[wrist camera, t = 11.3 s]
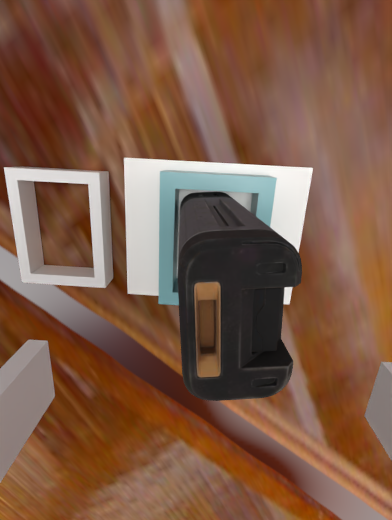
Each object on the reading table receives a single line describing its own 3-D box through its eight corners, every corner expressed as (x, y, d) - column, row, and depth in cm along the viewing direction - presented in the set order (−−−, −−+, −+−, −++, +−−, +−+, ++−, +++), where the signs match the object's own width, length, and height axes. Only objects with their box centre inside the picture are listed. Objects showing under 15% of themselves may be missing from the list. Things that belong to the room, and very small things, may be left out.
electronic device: (232, 270, 35) (292, 402, 16) (182, 273, 35) (183, 408, 16) (233, 190, 32) (308, 237, 13) (178, 192, 32) (175, 242, 13)
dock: (129, 290, 38) (118, 309, 33) (126, 157, 32) (112, 157, 28) (287, 300, 37) (298, 321, 32) (309, 167, 32) (327, 169, 27)
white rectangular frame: (36, 273, 37) (21, 282, 35) (21, 166, 33) (3, 167, 30) (113, 278, 37) (105, 287, 34) (108, 171, 33) (99, 172, 30)
